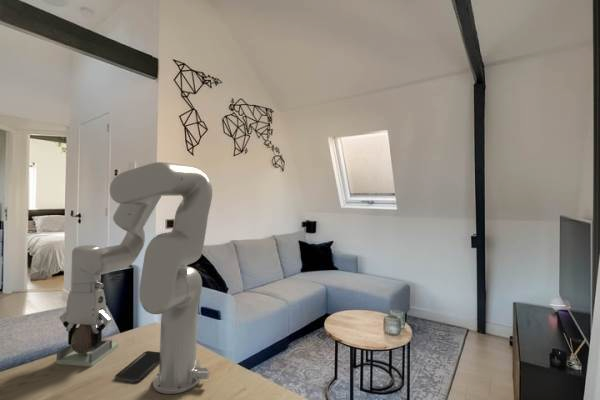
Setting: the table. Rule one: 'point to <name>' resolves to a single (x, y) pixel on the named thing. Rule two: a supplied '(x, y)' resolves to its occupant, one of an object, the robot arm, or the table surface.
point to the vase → (82, 339)
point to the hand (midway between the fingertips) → (84, 343)
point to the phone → (139, 367)
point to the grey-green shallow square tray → (85, 354)
